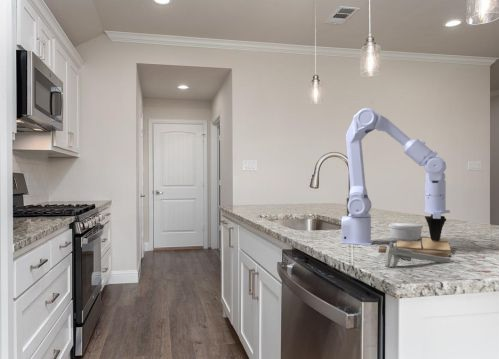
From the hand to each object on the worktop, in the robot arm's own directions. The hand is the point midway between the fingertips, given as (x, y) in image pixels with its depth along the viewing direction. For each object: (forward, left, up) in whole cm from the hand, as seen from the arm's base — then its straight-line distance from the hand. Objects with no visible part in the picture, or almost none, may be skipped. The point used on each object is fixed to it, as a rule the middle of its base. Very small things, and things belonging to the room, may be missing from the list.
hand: (435, 240), depth 117 cm
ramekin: (-9, +17, -3) cm, 20 cm away
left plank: (-8, -3, -3) cm, 9 cm away
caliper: (-5, -25, -3) cm, 26 cm away
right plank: (0, -3, -2) cm, 4 cm away
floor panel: (-7, -12, -3) cm, 14 cm away
